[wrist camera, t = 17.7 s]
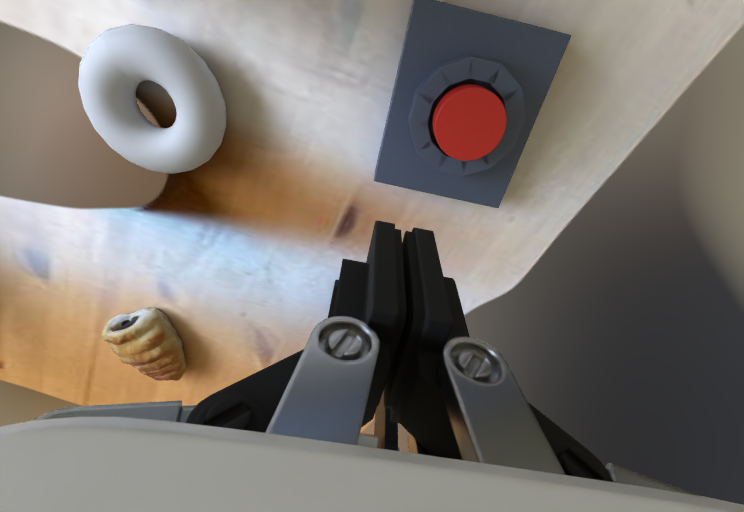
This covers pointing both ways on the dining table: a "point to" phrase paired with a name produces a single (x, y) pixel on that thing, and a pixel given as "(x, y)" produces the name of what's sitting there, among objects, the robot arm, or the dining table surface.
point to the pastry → (147, 343)
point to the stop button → (469, 122)
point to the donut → (170, 70)
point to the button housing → (455, 68)
